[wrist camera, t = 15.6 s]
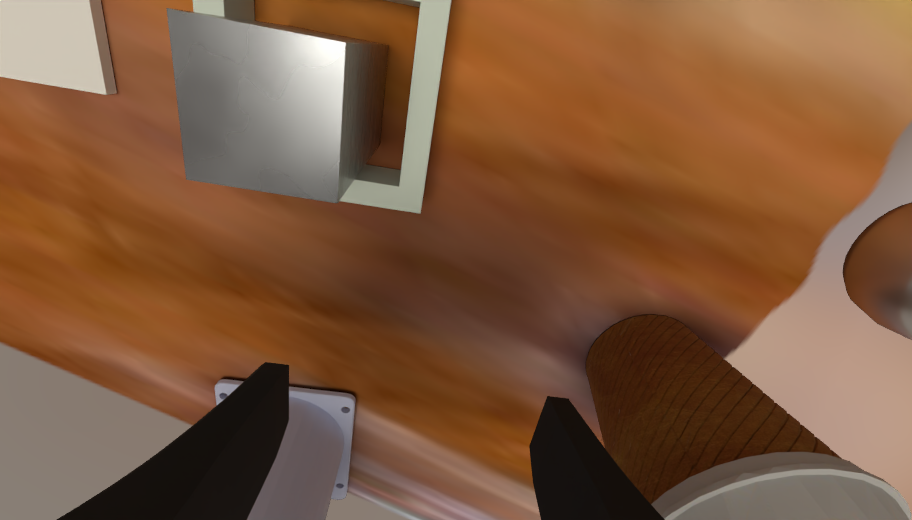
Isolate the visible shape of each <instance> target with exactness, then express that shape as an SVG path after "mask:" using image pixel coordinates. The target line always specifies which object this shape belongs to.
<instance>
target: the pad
mask: <svg viewBox="0 0 912 520" xmlns="http://www.w3.org/2000/svg"><path fill="white" fill-rule="evenodd" d="M0 77H5V78H11V79H17V80H23V81H29V82H35V83H40V84H46V85H52V86H58V87H64V88H70V89H76V90H81V91H87V92H93V93H99V94H105V95H109V94H116V93H117V91H116V85H115V80H114V74H113V68H112V62H111V57H110V51H109V45H108V39H107V33H106V28H105V22H104V16H103V10H102V5H101V0H0Z"/></svg>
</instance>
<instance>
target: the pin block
mask: <svg viewBox="0 0 912 520" xmlns="http://www.w3.org/2000/svg"><path fill="white" fill-rule="evenodd" d="M167 15H168V24H169V33H170V42H171V50H172V59H173V68H174V77H175V85H176V94H177V103H178V112H179V120H180V129H181V138H182V147H183V155H184V164H185V173H186V179H187V180H193V181H199V182H206V183H212V184H218V185H225V186H231V187H237V188H244V189H250V190H256V191H263V192H269V193H275V194H282V195H288V196H294V197H301V198H307V199H313V200H320V201H326V202H332V203H338V202H339V200H340V199H341V198H342V196H343V195H344V194H345V192H346V191H347V189H348V188H349V187H350V185H351V184H352V182H353V181H354V180H355V178H356V177H357V175H358V174H359V173H360V171H361V170H362V168H363V167H364V166H365V164H366V163H367V162H368V160H369V159H370V157H371V156H372V155H373V153H374V152H375V150H376V149H377V148H378V146H379V145H380V137H381V126H382V116H383V105H384V94H385V83H386V72H387V62H388V51H389V45H385V44H380V43H375V42H370V41H365V40H359V39H354V38H349V37H344V36H339V35H334V34H329V33H323V32H318V31H313V30H308V29H303V28H298V27H292V26H287V25H280V24H273V23H266V22H259V21H252V20H246V19H239V18H232V17H225V16H218V15H211V14H204V13H197V12H190V11H183V10H176V9H169V8H167Z"/></svg>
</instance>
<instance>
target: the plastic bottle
mask: <svg viewBox="0 0 912 520" xmlns="http://www.w3.org/2000/svg"><path fill="white" fill-rule="evenodd" d="M843 277H844V282H845V286H846V290H847V293H848V295H849V297H850V299H851V300H852V301H853V302H854V303H855V304H856V305H857V306H858V307H859V308H860V309H861V310H863V311H864V312H865V313H866V314H867V315H868V316H869V317H870V318H872V319H873V320H874V321H875V322H876V323H877V324H879V325H881V326H883V327H885V328H887V329H889V330H892V331H894V332H896V333H898V334H900V335H902V336H904V337H907V338H908V339H911V340H912V203H909V204H905V205H902V206H900V207H897V208H895V209H893V210H891V211H889V212H887V213H886V214H884V215H883V216H881V217H879V218H878V219H877V220H875V221H874V222H873V223H872V224H871V225H869V226H868V227H867V228H866V229H865V230H864V231H863V232H862V233H861V234H860V235H859V236H858V238H857V239H856V240H855V242H854V243H853V244H852V246H851V248H850V250H849V251H848V253H847V255H846V258H845V262H844V265H843Z"/></svg>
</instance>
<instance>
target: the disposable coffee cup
mask: <svg viewBox="0 0 912 520" xmlns="http://www.w3.org/2000/svg"><path fill="white" fill-rule="evenodd" d="M691 332H692V331H690V330H689V329H688V328H687V327H686V326H685V325H684V324H683V323H681V322H679V321H677V320H676V319H673V318H670V317H667V316H660V315H642V316H637V317H632V318H629V319H627V320H624V321H621V322H619V323H617V324H615V325H613V326H612V327H611V328H609V329H608V330H607V331H605V332H604V333H603V334H602V335H601V336H600V337H599V338H598V339H597V340H596V341H595V343H594V344H593V346H592V347H591V349H590V351H589V354H588V357H587V360H586V372H587V376H588V380H589V384H590V388H591V392H592V396H593V400H594V404H595V409H596V412H597V417H598V421H599V425H600V430H601V433H602V437H603V441H604V445H605V449H606V451H607V452H608V453H609V454H610V456H611V457H612V458H613V460H614V461H615V462H616V463H617V465H618V466H619V467H620V468H621V470H622V471H623V472H624V473H625V475H626V476H627V477H628V478H629V480H630V481H631V482H632V483H633V484H634V485H635V487H636V488H637V489H638V490H639V491H640V492H641V494H642V495H643V496H644V497H645V498H646V499H647V501H648V502H649V503H650V504H651V505H652V506H653V507H654V508H655V509H656V511H657V512H658V513H659V514H660V515H661V516H662V517H663V518H664V519H665V520H911V512H910V510H909V506H908V504H907V502H906V501H905V499H904V498H903V497H902V496H901V494H900V493H899V492H898V491H897V490H896V489H895V488H893V487H892V486H891V485H890V484H888V483H887V482H886V481H884V480H883V479H881V478H879V477H877V476H874V475H872V474H870V473H868V472H866V471H864V470H862V469H860V468H859V467H857V466H856V465H854V464H853V463H851V462H850V461H847V460H844V459H842V458H840V457H839V456H838V455H837V454H836V453H834V452H833V451H832V450H830V448H829V447H828V446H827V445H825V444H824V443H823V442H822V441H820V440H819V439H818V438H817V437H814V434H812V433H811V432H810V431H809V430H808V429H806V428H805V427H804V426H802V425H800V423H799V422H798V421H797V420H796V419H794V418H793V417H792V416H791V415H790V414H787V412H786V411H785V410H784V409H783V408H781V407H780V406H779V405H778V404H777V403H774V401H773V400H772V399H771V398H770V397H769V396H767V395H766V394H765V393H763V392H762V390H760V389H759V388H758V387H757V386H756V385H754V384H752V382H751V381H750V380H748V379H747V378H746V377H745V376H743V375H742V373H740V372H739V371H738V370H736V369H735V368H734V367H732V365H731V364H730V363H728V362H727V361H726V360H723V358H722V357H721V356H720V355H719V354H718V353H716V352H715V351H714V350H713V349H712V348H710V347H709V346H708V345H707V344H706V343H705V342H703V341H702V340H701V339H699V337H698V336H696V335H695V334H694V333H691ZM706 345H707V346H706Z"/></svg>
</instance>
